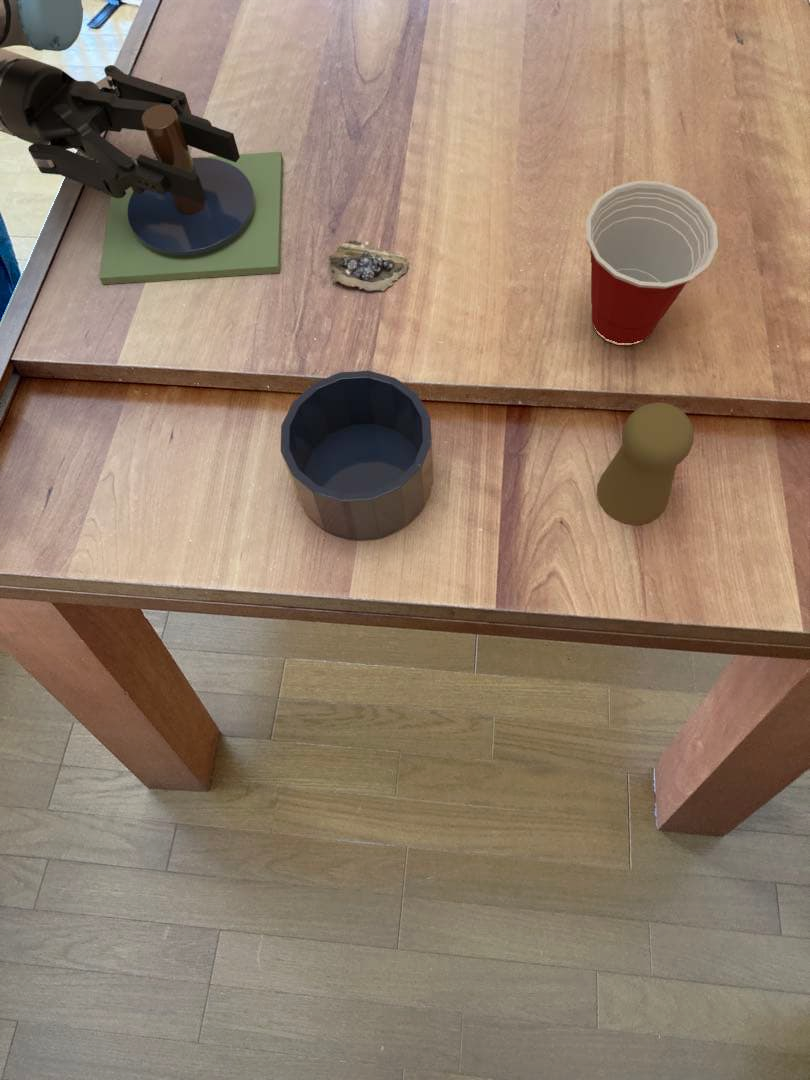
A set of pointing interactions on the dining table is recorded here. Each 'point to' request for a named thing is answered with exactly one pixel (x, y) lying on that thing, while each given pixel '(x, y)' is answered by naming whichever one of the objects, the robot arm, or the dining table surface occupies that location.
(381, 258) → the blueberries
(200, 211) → the lid
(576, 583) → the dining table surface
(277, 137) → the dining table surface
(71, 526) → the dining table surface
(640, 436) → the pepper shaker
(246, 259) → the mat
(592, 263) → the plastic cup
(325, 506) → the pot
